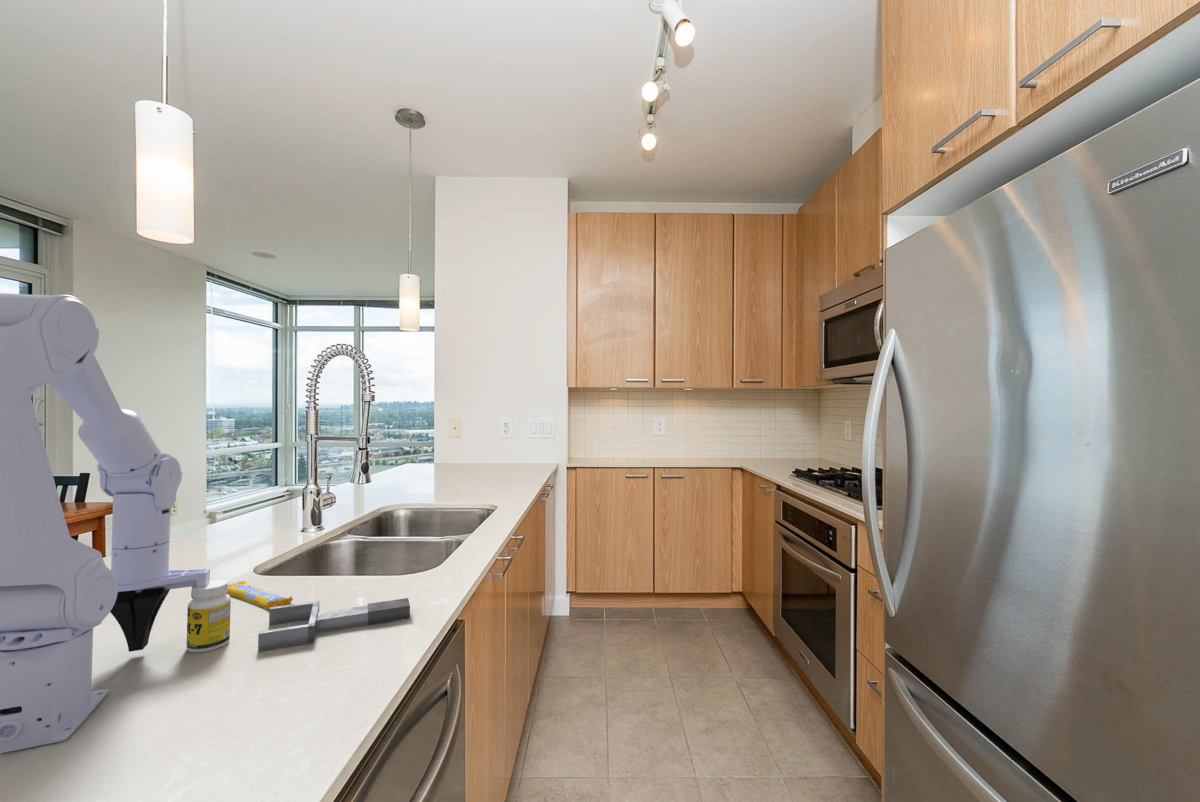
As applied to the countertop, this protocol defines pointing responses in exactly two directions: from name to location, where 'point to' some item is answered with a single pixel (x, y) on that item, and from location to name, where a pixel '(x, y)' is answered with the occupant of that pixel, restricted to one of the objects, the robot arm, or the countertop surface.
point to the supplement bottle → (208, 617)
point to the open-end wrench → (325, 621)
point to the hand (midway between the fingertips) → (138, 647)
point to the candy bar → (256, 595)
